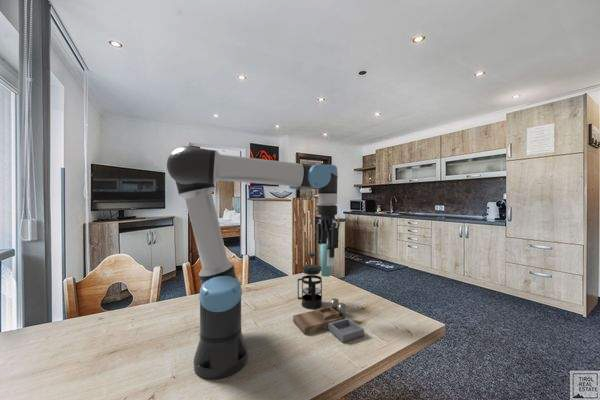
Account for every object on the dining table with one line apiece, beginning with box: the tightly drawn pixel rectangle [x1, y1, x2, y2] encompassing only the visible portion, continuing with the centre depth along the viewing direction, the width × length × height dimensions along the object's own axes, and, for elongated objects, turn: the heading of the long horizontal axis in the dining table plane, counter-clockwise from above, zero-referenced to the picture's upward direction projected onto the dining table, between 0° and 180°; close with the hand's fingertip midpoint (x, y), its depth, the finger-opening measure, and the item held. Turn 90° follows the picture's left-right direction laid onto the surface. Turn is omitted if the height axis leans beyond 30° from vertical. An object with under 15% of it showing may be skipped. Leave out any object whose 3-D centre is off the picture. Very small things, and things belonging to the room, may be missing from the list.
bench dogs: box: [330, 298, 347, 319], centre depth 100 cm, size 3×8×6 cm, turn 26°
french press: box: [297, 252, 323, 310], centre depth 112 cm, size 12×9×23 cm
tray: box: [327, 317, 365, 344], centre depth 88 cm, size 9×9×2 cm
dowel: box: [319, 243, 332, 278], centre depth 97 cm, size 4×4×12 cm
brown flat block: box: [292, 305, 342, 336], centre depth 95 cm, size 16×10×4 cm, turn 115°
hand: (327, 264), depth 98 cm, fingers closed on dowel, 4 cm apart
